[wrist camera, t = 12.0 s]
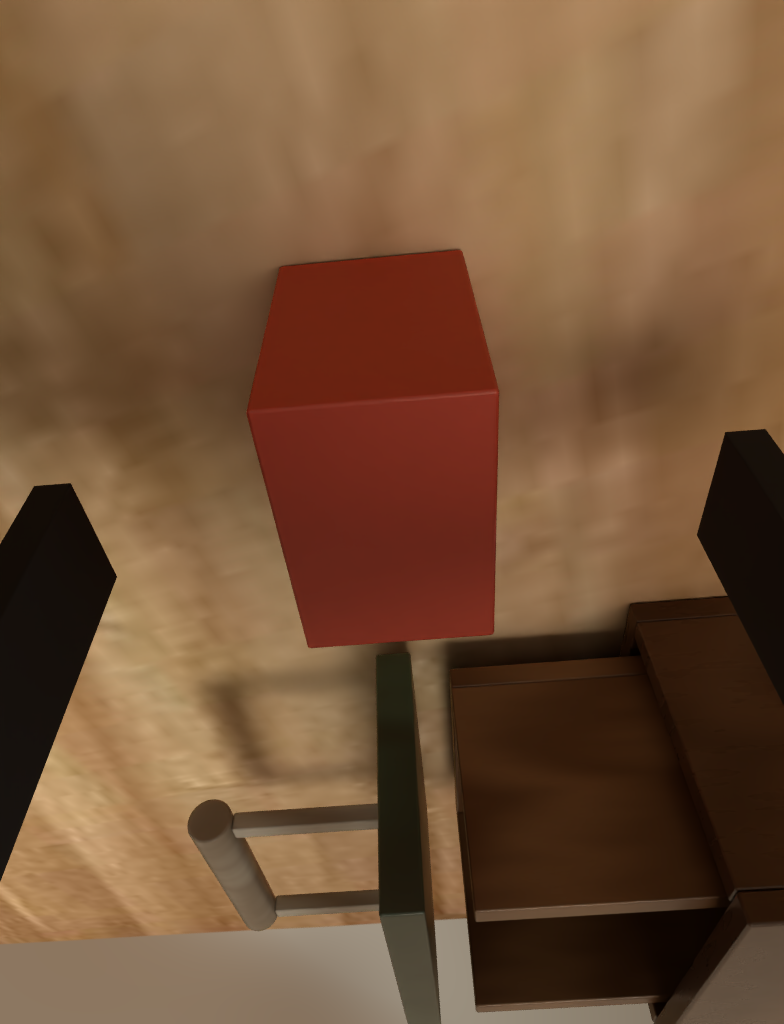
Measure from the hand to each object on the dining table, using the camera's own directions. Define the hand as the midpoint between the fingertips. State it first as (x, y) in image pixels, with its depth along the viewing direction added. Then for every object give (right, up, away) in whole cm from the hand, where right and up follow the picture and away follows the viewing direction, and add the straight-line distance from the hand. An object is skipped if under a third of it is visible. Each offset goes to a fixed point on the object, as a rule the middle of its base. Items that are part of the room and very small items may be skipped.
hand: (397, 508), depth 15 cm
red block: (0, +3, +3) cm, 5 cm away
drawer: (+3, -9, +13) cm, 16 cm away
